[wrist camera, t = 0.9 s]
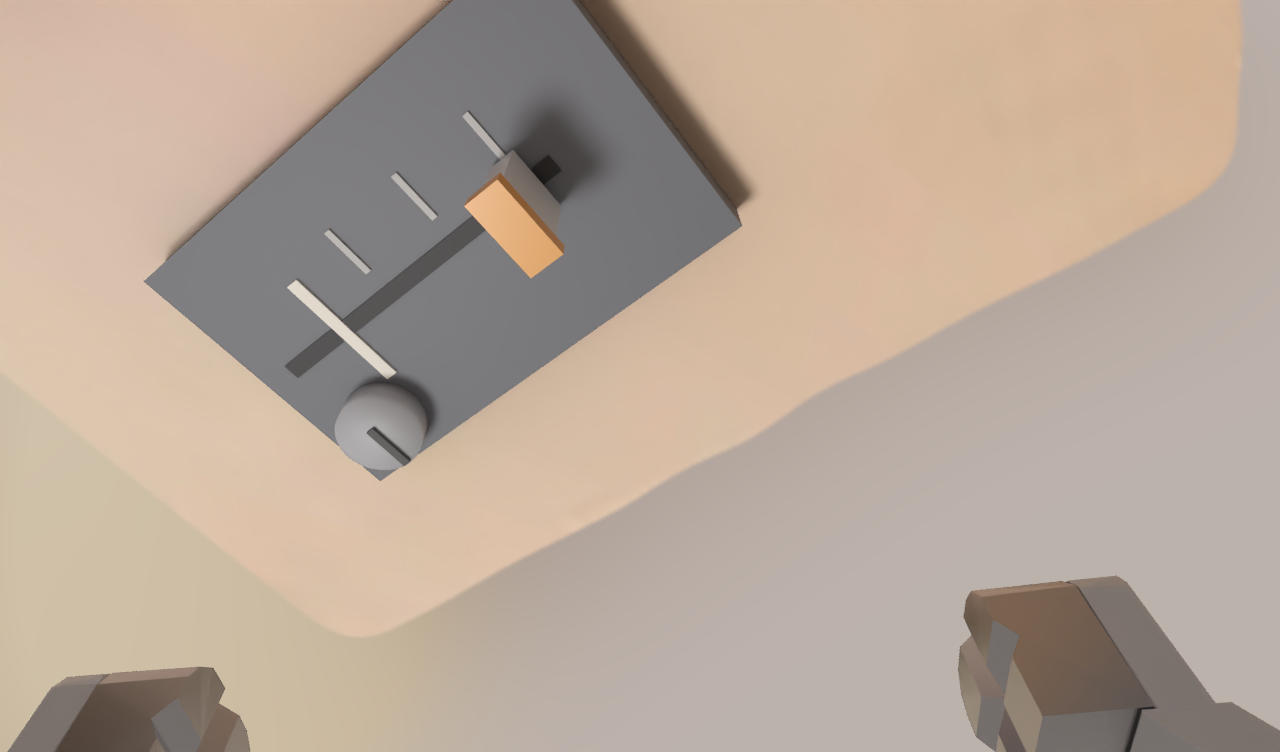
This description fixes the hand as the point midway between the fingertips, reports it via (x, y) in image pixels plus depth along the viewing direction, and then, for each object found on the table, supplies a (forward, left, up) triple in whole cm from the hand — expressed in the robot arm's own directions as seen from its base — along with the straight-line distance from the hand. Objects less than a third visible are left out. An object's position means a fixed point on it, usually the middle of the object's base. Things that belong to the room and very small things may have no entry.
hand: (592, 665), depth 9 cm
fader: (+5, +1, -29) cm, 29 cm away
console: (+10, +1, -31) cm, 32 cm away
